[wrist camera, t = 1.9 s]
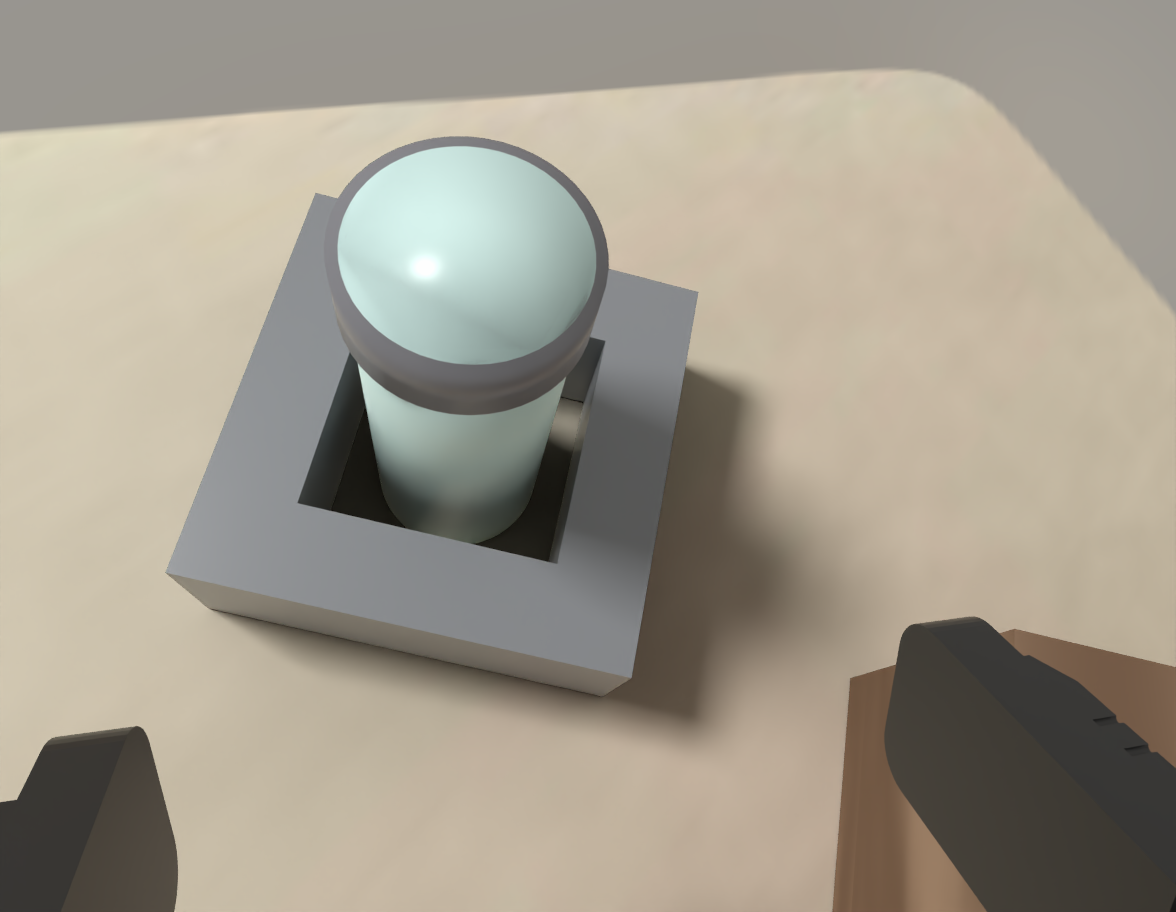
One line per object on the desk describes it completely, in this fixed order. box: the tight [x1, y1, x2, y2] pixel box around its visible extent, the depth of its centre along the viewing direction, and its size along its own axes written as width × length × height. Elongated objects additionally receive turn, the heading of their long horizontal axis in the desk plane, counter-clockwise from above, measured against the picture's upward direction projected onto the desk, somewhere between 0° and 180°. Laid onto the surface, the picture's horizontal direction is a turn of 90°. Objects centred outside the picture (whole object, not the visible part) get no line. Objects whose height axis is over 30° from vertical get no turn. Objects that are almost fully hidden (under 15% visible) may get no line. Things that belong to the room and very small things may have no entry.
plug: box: [324, 137, 609, 544], centre depth 18 cm, size 4×4×10 cm
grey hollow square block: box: [165, 193, 698, 697], centre depth 21 cm, size 10×10×4 cm
